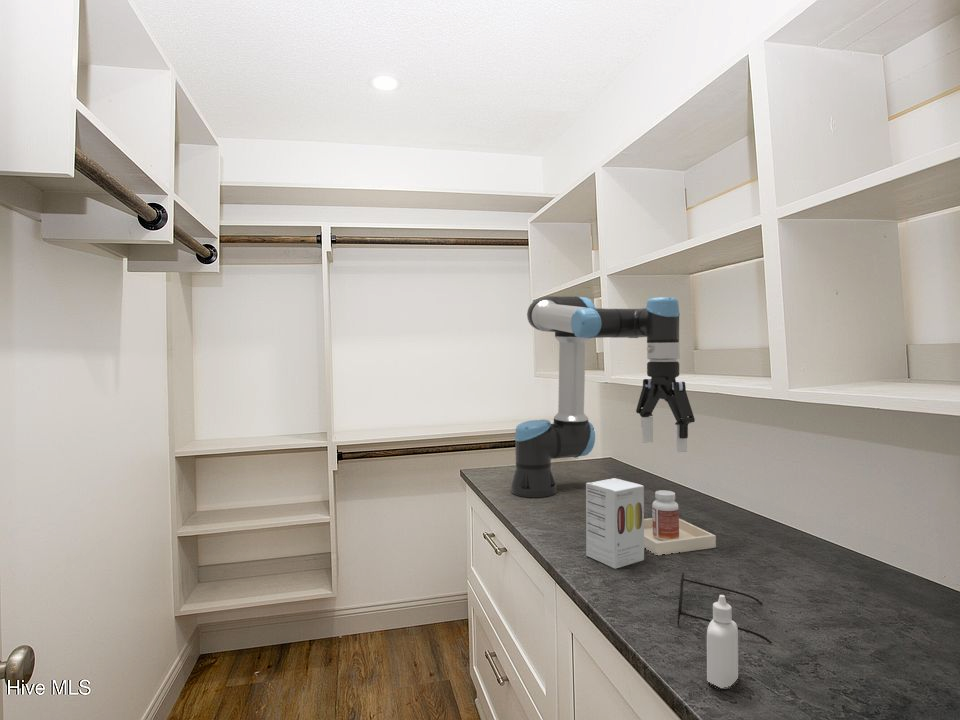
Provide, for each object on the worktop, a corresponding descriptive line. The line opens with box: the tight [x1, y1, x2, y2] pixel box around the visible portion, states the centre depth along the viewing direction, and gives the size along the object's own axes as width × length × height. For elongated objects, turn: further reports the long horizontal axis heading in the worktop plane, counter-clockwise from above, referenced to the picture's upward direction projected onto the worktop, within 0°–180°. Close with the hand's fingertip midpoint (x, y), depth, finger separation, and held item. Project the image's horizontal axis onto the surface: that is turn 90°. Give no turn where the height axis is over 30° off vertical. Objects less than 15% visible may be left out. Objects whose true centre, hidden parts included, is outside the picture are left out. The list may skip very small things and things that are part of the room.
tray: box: [644, 517, 717, 556], centre depth 130 cm, size 16×16×3 cm
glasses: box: [677, 573, 773, 644], centre depth 93 cm, size 14×15×5 cm
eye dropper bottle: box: [706, 594, 739, 688], centre depth 75 cm, size 4×6×12 cm
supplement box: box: [585, 477, 645, 570], centre depth 119 cm, size 10×9×17 cm
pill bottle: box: [651, 489, 680, 541], centre depth 130 cm, size 6×6×11 cm
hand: (663, 446), depth 131 cm, fingers open, 13 cm apart
